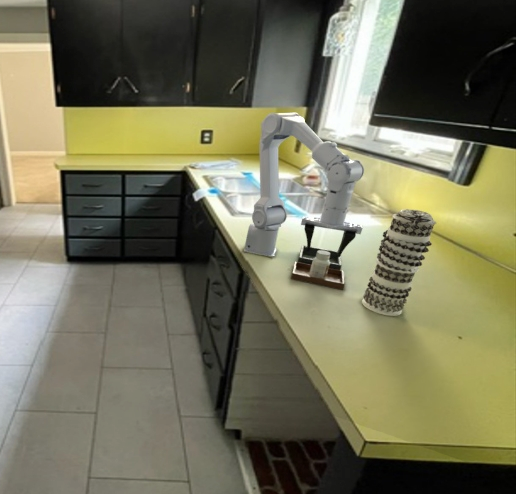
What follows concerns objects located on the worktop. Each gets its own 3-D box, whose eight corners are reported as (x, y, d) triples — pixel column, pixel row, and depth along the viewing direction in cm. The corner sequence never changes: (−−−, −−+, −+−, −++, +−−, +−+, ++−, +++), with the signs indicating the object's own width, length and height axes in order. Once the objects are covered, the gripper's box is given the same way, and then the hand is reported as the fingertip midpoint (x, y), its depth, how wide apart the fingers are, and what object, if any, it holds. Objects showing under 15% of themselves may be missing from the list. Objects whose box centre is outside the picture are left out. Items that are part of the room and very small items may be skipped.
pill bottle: (327, 280, 104) (334, 256, 101) (311, 279, 105) (317, 254, 101) (323, 273, 108) (329, 250, 104) (307, 272, 108) (313, 248, 105)
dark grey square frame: (297, 265, 113) (299, 257, 112) (299, 253, 122) (301, 244, 121) (338, 274, 108) (341, 265, 107) (338, 260, 117) (340, 251, 116)
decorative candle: (377, 317, 88) (414, 219, 77) (352, 297, 96) (381, 206, 86) (413, 316, 88) (454, 218, 78) (384, 296, 97) (417, 206, 86)
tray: (290, 278, 106) (292, 273, 105) (293, 266, 113) (295, 261, 112) (342, 290, 100) (344, 284, 99) (342, 276, 107) (344, 270, 106)
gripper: (305, 206, 97) (294, 252, 103) (368, 214, 91) (353, 263, 97) (306, 199, 103) (296, 243, 109) (366, 207, 97) (352, 253, 102)
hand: (323, 252), depth 103 cm, fingers open, 7 cm apart
